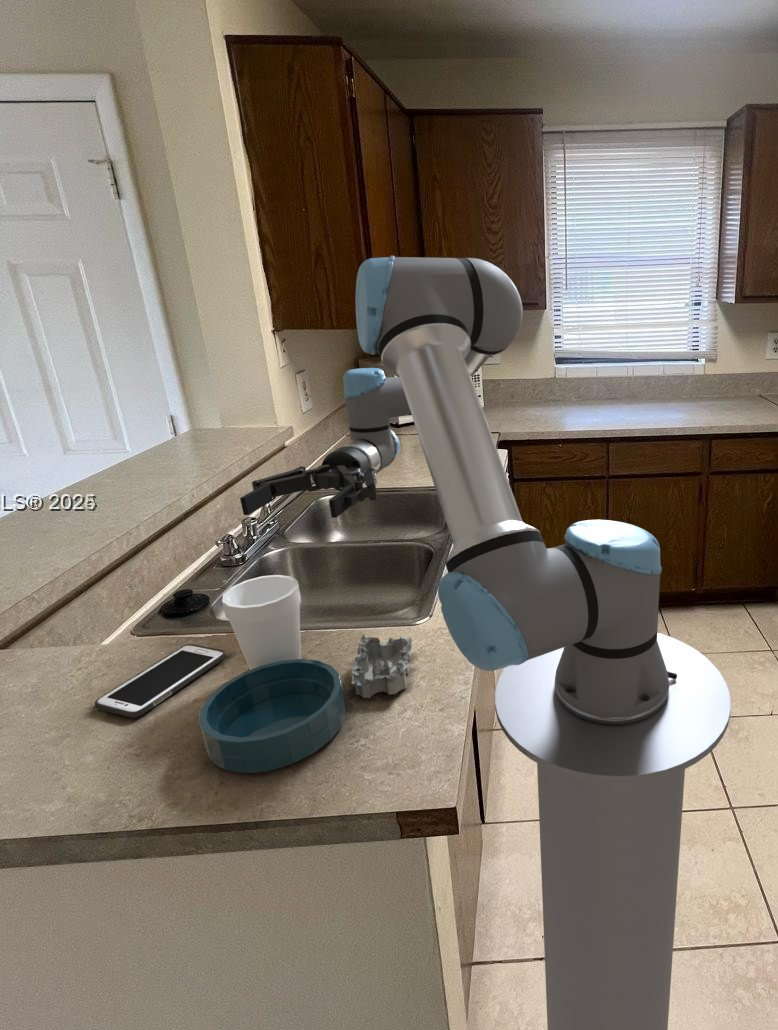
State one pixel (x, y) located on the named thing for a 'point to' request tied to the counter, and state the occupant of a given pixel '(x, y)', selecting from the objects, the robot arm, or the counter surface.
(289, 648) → the foam cup
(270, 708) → the bowl
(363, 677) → the egg carton
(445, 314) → the robot arm
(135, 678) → the cell phone
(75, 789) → the counter surface
